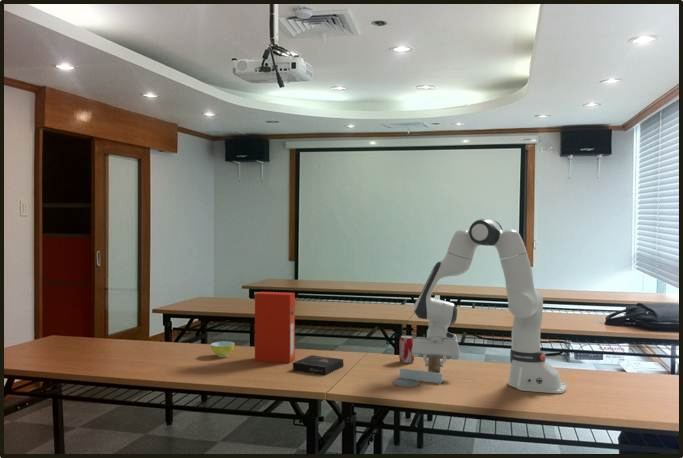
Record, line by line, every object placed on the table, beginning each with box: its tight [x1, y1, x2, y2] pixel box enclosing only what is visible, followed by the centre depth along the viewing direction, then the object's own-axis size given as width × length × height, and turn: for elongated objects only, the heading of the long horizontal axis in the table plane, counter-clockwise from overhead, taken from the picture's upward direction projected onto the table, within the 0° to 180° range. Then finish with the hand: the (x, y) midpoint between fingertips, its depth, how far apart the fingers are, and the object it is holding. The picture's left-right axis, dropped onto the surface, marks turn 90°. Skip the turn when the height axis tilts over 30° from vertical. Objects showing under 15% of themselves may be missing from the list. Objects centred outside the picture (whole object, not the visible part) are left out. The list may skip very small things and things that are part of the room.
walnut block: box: [427, 357, 441, 373], centre depth 238 cm, size 4×4×8 cm
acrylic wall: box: [398, 367, 443, 385], centre depth 235 cm, size 18×2×4 cm, turn 64°
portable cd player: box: [292, 354, 344, 376], centre depth 253 cm, size 16×17×4 cm
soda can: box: [398, 335, 415, 364], centre depth 267 cm, size 7×7×12 cm
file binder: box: [254, 291, 296, 364], centre depth 269 cm, size 8×17×32 cm, turn 78°
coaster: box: [392, 378, 420, 388], centre depth 231 cm, size 11×11×1 cm
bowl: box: [210, 340, 236, 358], centre depth 276 cm, size 11×12×6 cm
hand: (434, 365), depth 237 cm, fingers closed on walnut block, 4 cm apart
